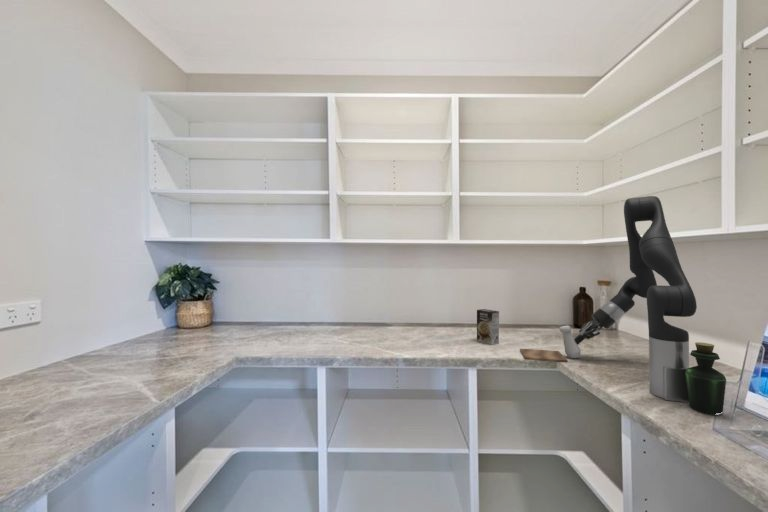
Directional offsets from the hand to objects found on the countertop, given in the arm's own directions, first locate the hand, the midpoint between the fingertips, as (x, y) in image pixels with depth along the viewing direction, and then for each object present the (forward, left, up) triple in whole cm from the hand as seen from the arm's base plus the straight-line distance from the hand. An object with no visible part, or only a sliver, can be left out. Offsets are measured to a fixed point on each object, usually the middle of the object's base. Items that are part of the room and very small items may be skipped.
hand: (574, 342), depth 137 cm
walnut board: (0, +13, -6) cm, 14 cm away
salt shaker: (0, 0, -6) cm, 6 cm away
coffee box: (+18, +34, -7) cm, 39 cm away
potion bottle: (-44, -20, -7) cm, 49 cm away
